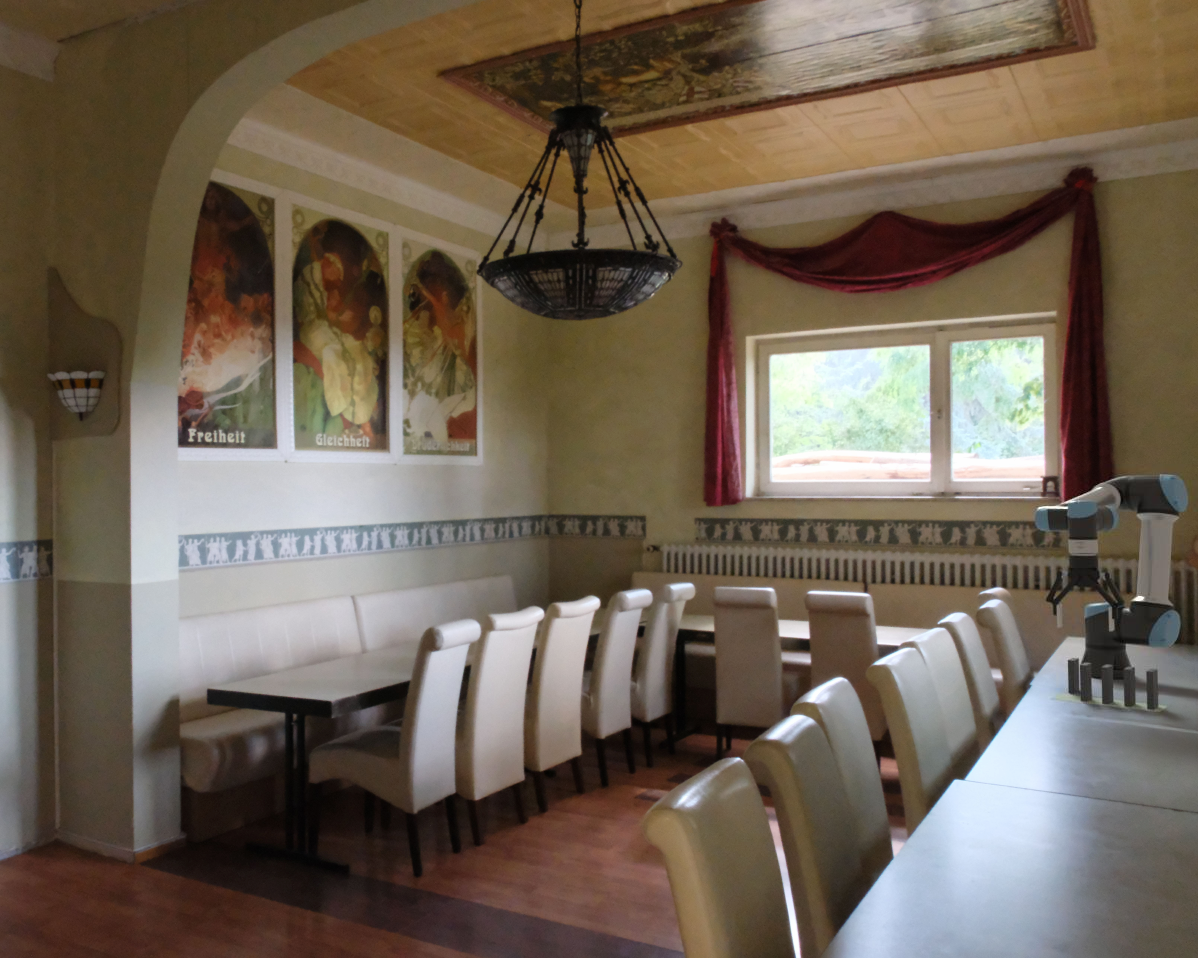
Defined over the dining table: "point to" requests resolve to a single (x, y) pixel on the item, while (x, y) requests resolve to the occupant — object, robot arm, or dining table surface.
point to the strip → (1099, 702)
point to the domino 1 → (1073, 675)
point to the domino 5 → (1152, 688)
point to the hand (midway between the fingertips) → (1085, 628)
